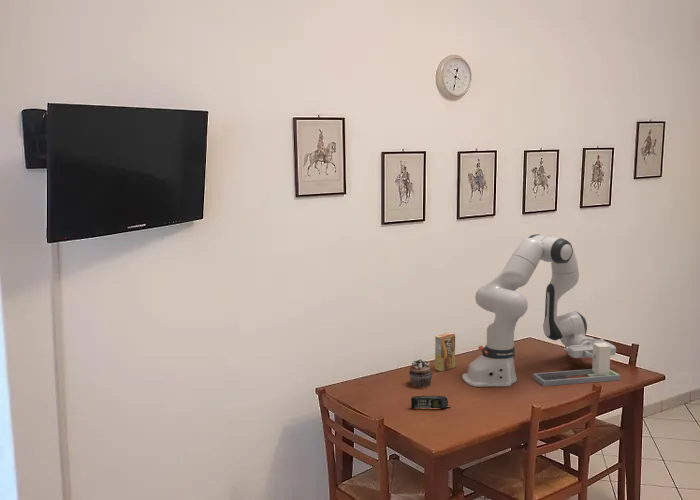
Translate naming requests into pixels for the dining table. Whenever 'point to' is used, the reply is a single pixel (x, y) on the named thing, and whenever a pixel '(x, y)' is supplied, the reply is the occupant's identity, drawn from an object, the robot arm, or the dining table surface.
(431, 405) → the mobile phone
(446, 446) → the dining table surface
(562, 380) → the tray
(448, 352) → the candy box
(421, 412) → the dining table surface
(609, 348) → the ivory block
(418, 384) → the cupcake
